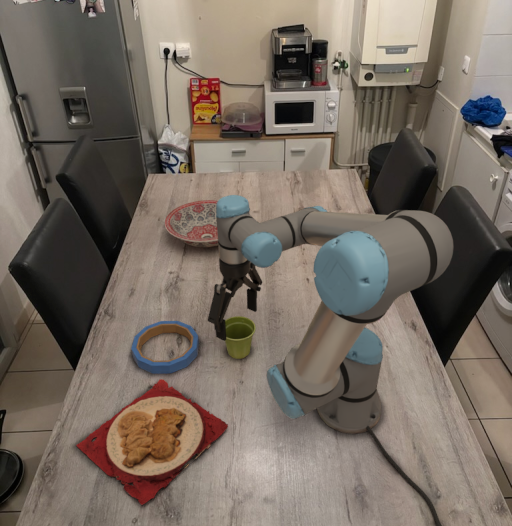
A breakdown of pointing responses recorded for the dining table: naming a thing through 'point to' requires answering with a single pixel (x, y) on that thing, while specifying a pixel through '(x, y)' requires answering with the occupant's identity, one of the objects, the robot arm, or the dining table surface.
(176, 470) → the plate with food
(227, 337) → the plant pot
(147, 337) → the tape roll
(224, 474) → the dining table surface
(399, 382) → the dining table surface
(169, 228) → the ceramic bowl
